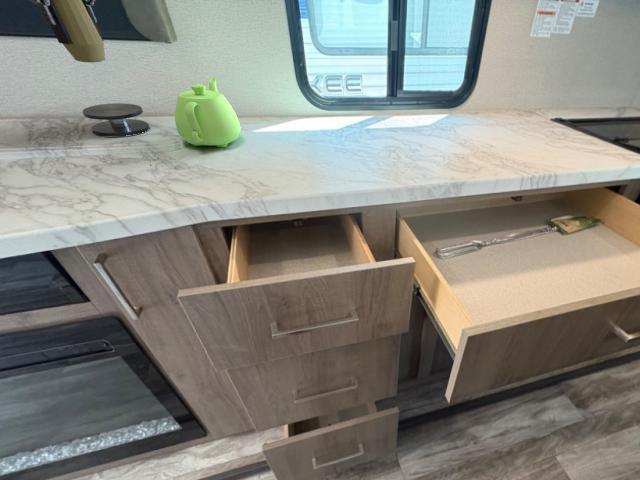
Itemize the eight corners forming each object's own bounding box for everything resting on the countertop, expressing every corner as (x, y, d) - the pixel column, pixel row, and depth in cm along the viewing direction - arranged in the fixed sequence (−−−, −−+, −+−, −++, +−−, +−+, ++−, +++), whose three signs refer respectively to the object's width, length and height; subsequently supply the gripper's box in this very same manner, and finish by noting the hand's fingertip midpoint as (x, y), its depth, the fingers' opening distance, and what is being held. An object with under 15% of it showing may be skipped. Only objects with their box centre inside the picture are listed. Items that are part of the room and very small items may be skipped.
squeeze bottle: (116, 62, 82) (72, -42, 70) (75, 64, 77) (21, -47, 65) (105, 57, 85) (62, -43, 73) (65, 58, 81) (12, -48, 69)
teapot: (200, 126, 99) (184, 73, 90) (253, 129, 100) (242, 77, 92) (169, 152, 83) (145, 91, 74) (232, 155, 84) (216, 96, 76)
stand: (80, 133, 88) (68, 112, 84) (118, 120, 97) (109, 101, 94) (126, 140, 87) (116, 118, 83) (160, 126, 96) (152, 106, 93)
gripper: (-29, -122, 56) (56, 48, 71) (79, -96, 71) (130, 39, 86) (-69, -125, 56) (24, 44, 71) (47, -98, 71) (103, 36, 87)
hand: (82, 41), depth 79 cm, fingers closed on squeeze bottle, 8 cm apart
